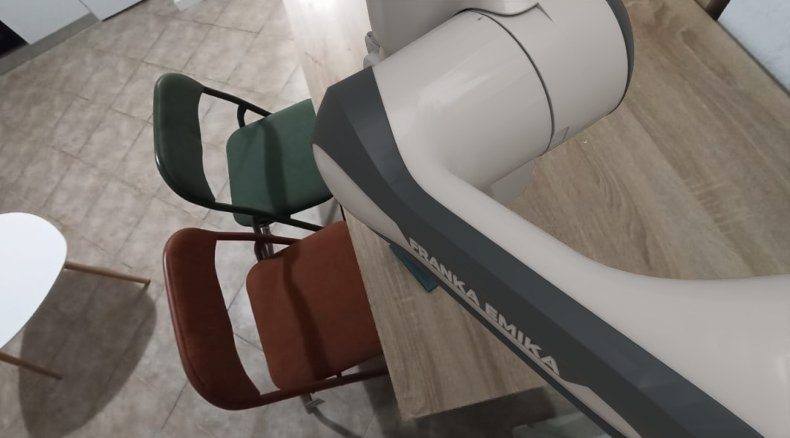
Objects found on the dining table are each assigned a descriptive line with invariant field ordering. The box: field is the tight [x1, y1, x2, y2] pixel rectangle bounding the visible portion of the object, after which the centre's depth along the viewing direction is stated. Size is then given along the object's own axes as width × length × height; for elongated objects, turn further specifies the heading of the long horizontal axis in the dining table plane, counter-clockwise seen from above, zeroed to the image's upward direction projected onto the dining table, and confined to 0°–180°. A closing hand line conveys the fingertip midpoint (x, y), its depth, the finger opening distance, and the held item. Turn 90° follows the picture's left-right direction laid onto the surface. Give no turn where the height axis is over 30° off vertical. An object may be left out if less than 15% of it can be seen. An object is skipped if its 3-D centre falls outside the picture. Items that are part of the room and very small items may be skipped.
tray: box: [388, 244, 440, 294], centre depth 83 cm, size 12×12×2 cm
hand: (439, 163), depth 49 cm, fingers open, 8 cm apart
